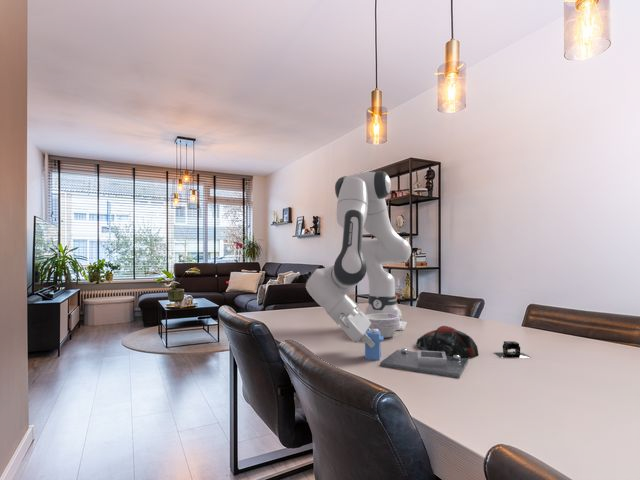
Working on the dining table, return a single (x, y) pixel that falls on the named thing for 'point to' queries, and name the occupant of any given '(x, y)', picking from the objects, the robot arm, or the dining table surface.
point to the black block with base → (515, 354)
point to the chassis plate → (412, 364)
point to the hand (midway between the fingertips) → (374, 343)
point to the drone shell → (449, 342)
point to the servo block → (375, 351)
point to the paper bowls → (384, 323)
